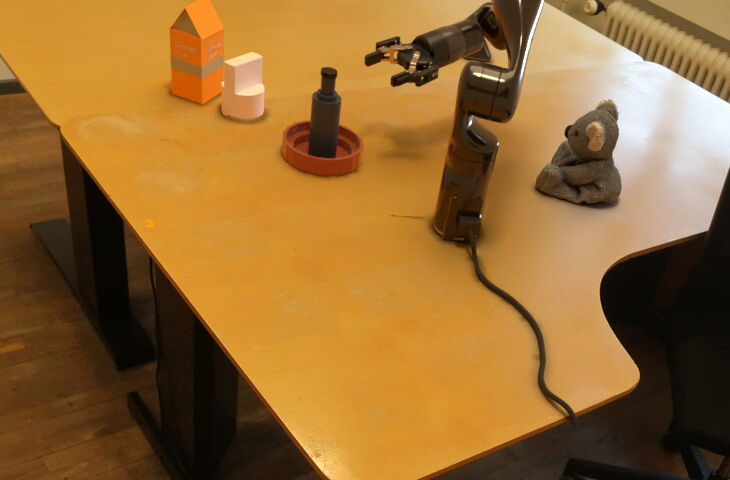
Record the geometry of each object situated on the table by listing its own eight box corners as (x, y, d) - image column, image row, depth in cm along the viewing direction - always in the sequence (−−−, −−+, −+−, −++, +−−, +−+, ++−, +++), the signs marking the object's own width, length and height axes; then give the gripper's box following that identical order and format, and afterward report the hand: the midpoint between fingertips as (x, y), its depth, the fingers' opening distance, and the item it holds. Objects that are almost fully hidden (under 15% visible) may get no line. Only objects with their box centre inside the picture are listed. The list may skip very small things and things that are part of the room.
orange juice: (171, 93, 184) (167, 1, 170) (194, 80, 190) (192, -10, 177) (202, 104, 182) (201, 13, 169) (224, 90, 189) (224, 1, 176)
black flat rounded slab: (484, 36, 240) (491, 58, 230) (483, 40, 241) (491, 62, 230) (457, 32, 239) (464, 54, 228) (456, 36, 239) (463, 58, 229)
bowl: (362, 183, 171) (364, 163, 168) (280, 175, 167) (281, 155, 164) (358, 143, 183) (361, 124, 180) (282, 135, 179) (283, 116, 176)
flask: (336, 163, 173) (344, 78, 161) (307, 160, 172) (314, 75, 160) (335, 149, 177) (343, 66, 165) (307, 147, 176) (314, 62, 164)
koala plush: (553, 160, 194) (576, 80, 181) (625, 187, 191) (654, 107, 178) (530, 191, 181) (553, 108, 168) (607, 220, 178) (637, 137, 165)
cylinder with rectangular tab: (241, 98, 188) (242, 46, 180) (272, 113, 185) (274, 61, 177) (212, 109, 182) (212, 56, 174) (244, 125, 179) (245, 72, 171)
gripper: (419, 15, 175) (356, 38, 167) (464, 47, 169) (401, 72, 161) (417, 48, 180) (356, 71, 173) (460, 80, 175) (399, 105, 167)
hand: (378, 71), depth 167 cm, fingers open, 8 cm apart
